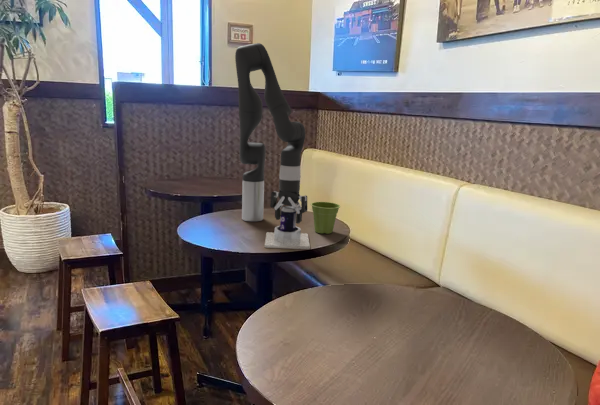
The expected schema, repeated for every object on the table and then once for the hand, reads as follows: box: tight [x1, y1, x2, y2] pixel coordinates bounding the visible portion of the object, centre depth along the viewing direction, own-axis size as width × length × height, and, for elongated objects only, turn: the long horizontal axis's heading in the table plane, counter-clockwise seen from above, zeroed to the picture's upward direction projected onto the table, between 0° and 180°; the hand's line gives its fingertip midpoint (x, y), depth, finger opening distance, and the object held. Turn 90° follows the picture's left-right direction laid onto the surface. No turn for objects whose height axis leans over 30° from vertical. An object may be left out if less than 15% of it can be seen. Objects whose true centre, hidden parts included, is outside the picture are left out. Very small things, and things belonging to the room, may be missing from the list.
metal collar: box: [264, 225, 311, 250], centre depth 168 cm, size 16×16×5 cm
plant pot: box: [310, 201, 341, 235], centre depth 183 cm, size 12×12×11 cm
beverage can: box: [279, 205, 297, 232], centre depth 167 cm, size 6×6×12 cm
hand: (288, 221), depth 167 cm, fingers open, 8 cm apart
